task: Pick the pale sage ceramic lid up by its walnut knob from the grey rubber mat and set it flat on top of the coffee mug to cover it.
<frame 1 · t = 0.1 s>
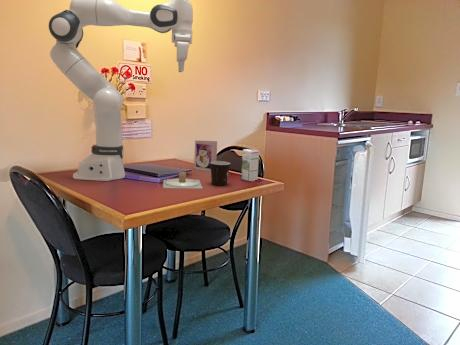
hand: (181, 71, 174), 48 cm above the table, fingers open, 8 cm apart
sage lid: (182, 183, 171), point 1 cm above the table, touching grey mat
coffee mug: (217, 186, 172), on the table
grey mat: (182, 184, 171), on the table
syrup box: (249, 180, 188), on the table
greeting card: (206, 170, 207), on the table
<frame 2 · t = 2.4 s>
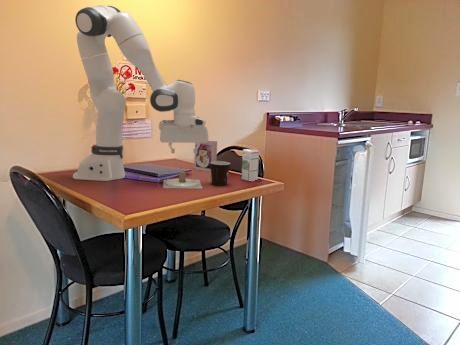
hand: (184, 153, 168), 14 cm above the table, fingers open, 8 cm apart
nothing on the table moved.
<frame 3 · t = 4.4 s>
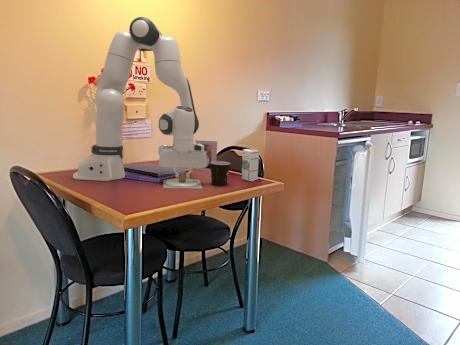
hand: (182, 177, 170), 3 cm above the table, fingers closed on sage lid, 3 cm apart
sage lid: (182, 183, 171), point 1 cm above the table, touching grey mat, gripper
everything else where it was.
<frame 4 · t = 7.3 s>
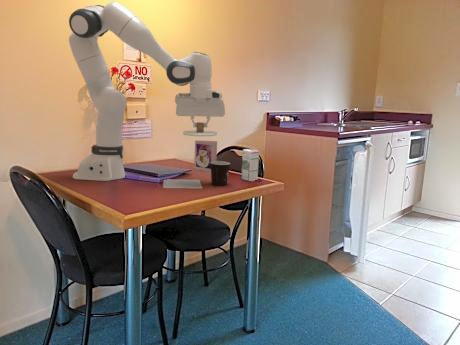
hand: (200, 127, 166), 25 cm above the table, fingers closed on sage lid, 3 cm apart
sage lid: (200, 134, 166), point 22 cm above the table, touching gripper
everything else where it was.
when the fingers open (15 cm above the table, at t = 10.3 s): sage lid drops 2 cm, resting on coffee mug.
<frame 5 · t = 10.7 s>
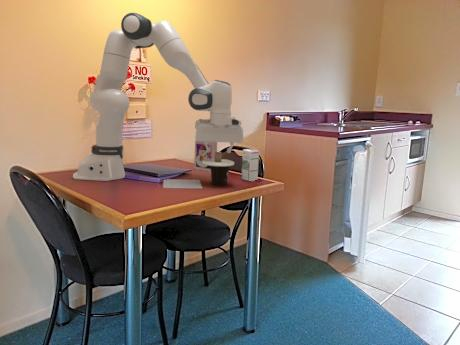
hand: (218, 152, 169), 15 cm above the table, fingers open, 7 cm apart
sage lid: (217, 163, 170), point 10 cm above the table, touching coffee mug
coffee mug: (217, 186, 172), on the table, touching sage lid
everything else where it was.
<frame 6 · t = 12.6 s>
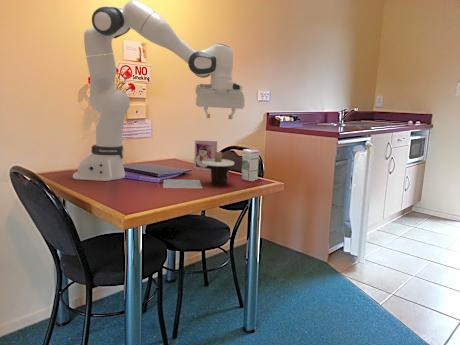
hand: (219, 118, 167), 29 cm above the table, fingers open, 8 cm apart
nothing on the table moved.
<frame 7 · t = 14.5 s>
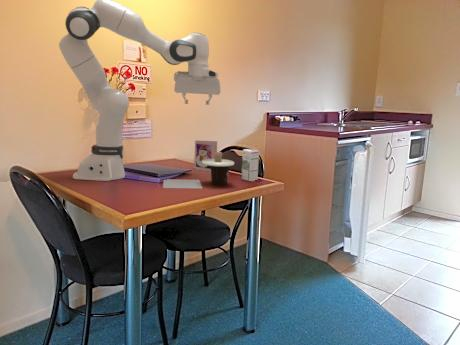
hand: (196, 104, 177), 34 cm above the table, fingers open, 8 cm apart
nothing on the table moved.
at the end: sage lid 0.1 cm from the coffee mug (horizontally); sage lid point 10.0 cm above the table; sage lid tilted 0° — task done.
